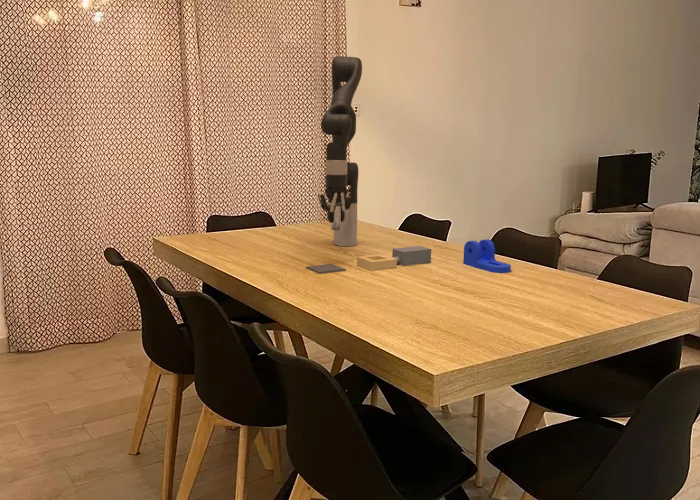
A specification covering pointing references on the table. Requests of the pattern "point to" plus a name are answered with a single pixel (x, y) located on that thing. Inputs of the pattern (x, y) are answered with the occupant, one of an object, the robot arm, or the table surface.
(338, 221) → the square capped bottle
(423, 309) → the table surface
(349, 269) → the table surface
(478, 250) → the bracket
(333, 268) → the mat
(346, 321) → the table surface
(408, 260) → the tray with grey block
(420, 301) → the table surface
